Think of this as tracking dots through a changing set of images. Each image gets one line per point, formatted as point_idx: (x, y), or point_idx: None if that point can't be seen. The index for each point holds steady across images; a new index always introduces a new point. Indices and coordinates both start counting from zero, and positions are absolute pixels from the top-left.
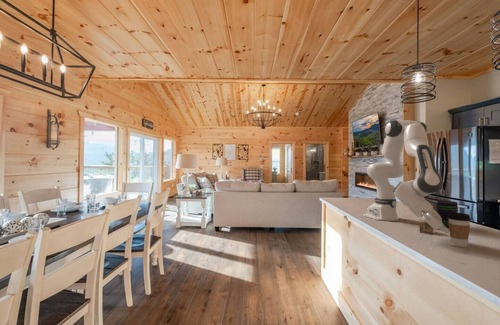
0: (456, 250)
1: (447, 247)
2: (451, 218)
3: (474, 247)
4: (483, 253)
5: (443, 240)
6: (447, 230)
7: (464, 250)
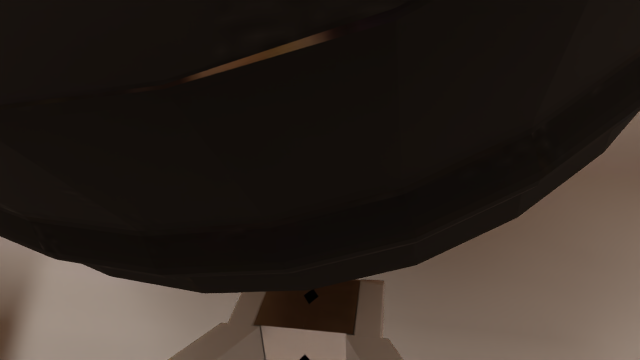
0: (635, 244)
1: (562, 334)
2: (620, 104)
3: None
4: None
5: None
6: (380, 311)
7: None
